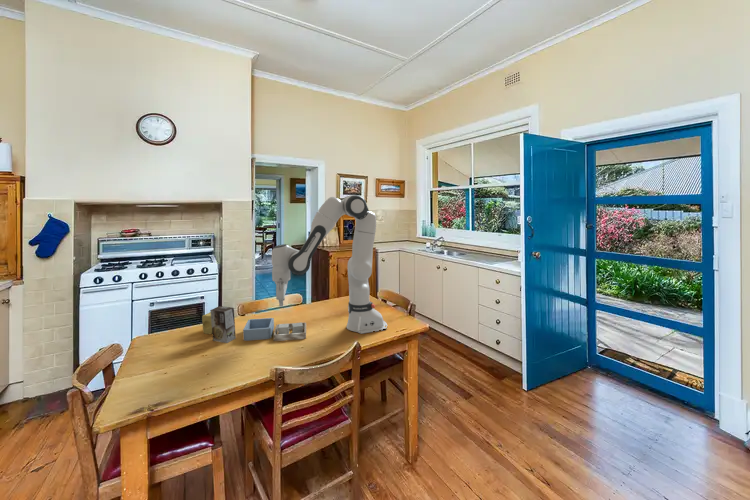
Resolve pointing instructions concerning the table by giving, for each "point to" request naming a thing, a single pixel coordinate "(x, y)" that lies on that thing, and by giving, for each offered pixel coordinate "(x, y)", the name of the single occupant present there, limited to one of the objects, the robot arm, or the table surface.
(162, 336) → the table surface
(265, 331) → the bin
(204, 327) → the cheese
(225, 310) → the coffee box
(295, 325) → the stone
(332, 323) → the table surface
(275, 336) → the corral
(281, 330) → the stone
